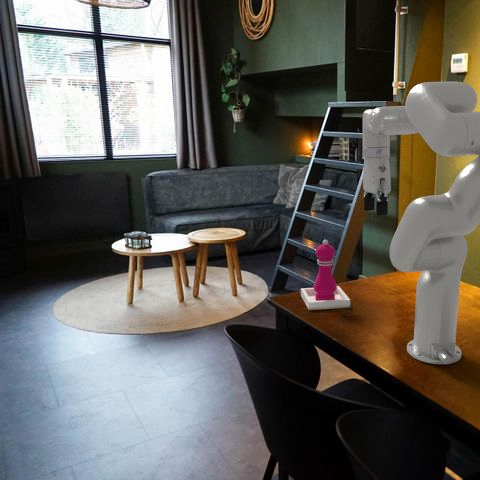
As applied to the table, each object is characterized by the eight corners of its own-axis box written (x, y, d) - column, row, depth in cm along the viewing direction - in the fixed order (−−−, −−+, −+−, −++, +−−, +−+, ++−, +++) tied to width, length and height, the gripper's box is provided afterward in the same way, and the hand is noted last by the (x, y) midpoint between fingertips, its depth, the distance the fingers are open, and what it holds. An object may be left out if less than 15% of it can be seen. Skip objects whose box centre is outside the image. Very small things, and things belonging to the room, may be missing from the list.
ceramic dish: (350, 307, 152) (350, 299, 152) (308, 310, 152) (308, 302, 151) (338, 293, 165) (339, 286, 164) (300, 295, 164) (300, 288, 164)
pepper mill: (335, 295, 161) (336, 236, 156) (337, 304, 154) (338, 242, 149) (313, 295, 162) (313, 237, 157) (314, 303, 155) (314, 242, 150)
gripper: (401, 153, 132) (400, 216, 135) (377, 152, 149) (376, 207, 152) (374, 155, 131) (373, 218, 135) (353, 153, 148) (352, 209, 152)
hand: (375, 212), depth 143 cm, fingers open, 9 cm apart
